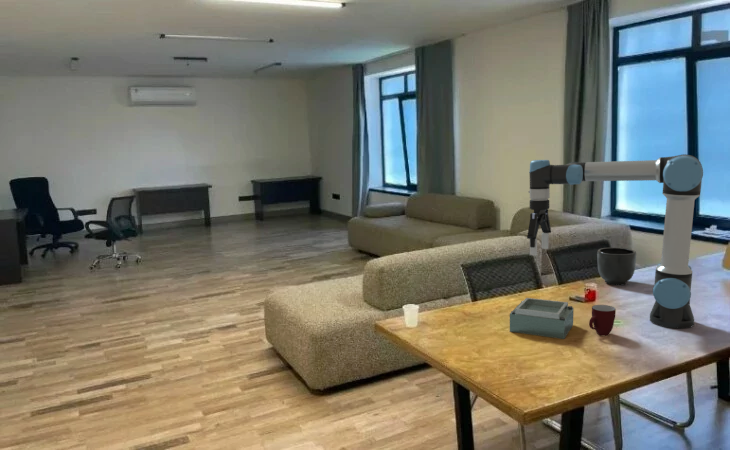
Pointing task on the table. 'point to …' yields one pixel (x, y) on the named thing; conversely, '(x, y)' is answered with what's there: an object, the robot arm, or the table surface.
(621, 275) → the planter
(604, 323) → the mug
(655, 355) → the table surface
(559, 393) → the table surface
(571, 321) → the grey rectangular container
